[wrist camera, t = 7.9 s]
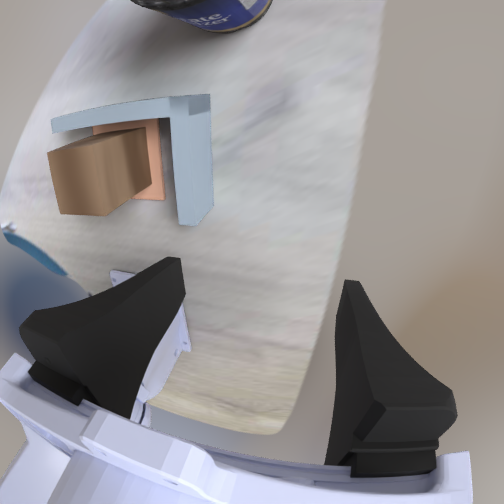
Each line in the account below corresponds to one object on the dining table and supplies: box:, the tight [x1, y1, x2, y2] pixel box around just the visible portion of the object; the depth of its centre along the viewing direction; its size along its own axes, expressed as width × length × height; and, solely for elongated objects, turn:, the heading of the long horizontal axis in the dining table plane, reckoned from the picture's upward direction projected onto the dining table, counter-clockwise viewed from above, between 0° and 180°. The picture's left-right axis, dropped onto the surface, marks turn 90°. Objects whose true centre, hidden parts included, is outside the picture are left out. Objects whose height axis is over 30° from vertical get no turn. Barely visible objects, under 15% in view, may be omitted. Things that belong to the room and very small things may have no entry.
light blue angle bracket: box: [51, 94, 214, 226], centre depth 19 cm, size 8×12×4 cm
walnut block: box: [47, 127, 152, 216], centre depth 18 cm, size 4×4×6 cm
